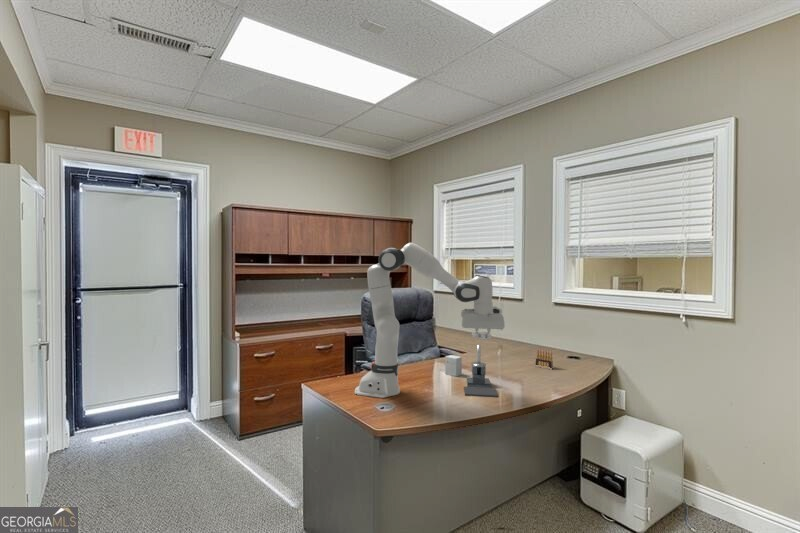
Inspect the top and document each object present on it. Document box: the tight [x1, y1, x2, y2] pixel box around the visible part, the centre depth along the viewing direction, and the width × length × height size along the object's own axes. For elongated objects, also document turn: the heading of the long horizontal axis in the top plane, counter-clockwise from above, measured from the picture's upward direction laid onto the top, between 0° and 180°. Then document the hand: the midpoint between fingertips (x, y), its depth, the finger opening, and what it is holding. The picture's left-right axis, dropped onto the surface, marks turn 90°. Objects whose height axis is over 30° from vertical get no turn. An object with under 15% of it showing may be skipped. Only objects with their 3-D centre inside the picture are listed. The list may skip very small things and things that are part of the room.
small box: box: [444, 354, 463, 378], centre depth 234 cm, size 8×6×10 cm
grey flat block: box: [471, 331, 492, 341], centre depth 200 cm, size 9×14×3 cm, turn 173°
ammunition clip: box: [535, 347, 554, 368], centre depth 254 cm, size 11×2×12 cm, turn 44°
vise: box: [466, 344, 492, 388], centre depth 216 cm, size 12×10×21 cm
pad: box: [463, 386, 499, 398], centre depth 202 cm, size 16×12×1 cm
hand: (482, 337), depth 195 cm, fingers closed on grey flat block, 2 cm apart
